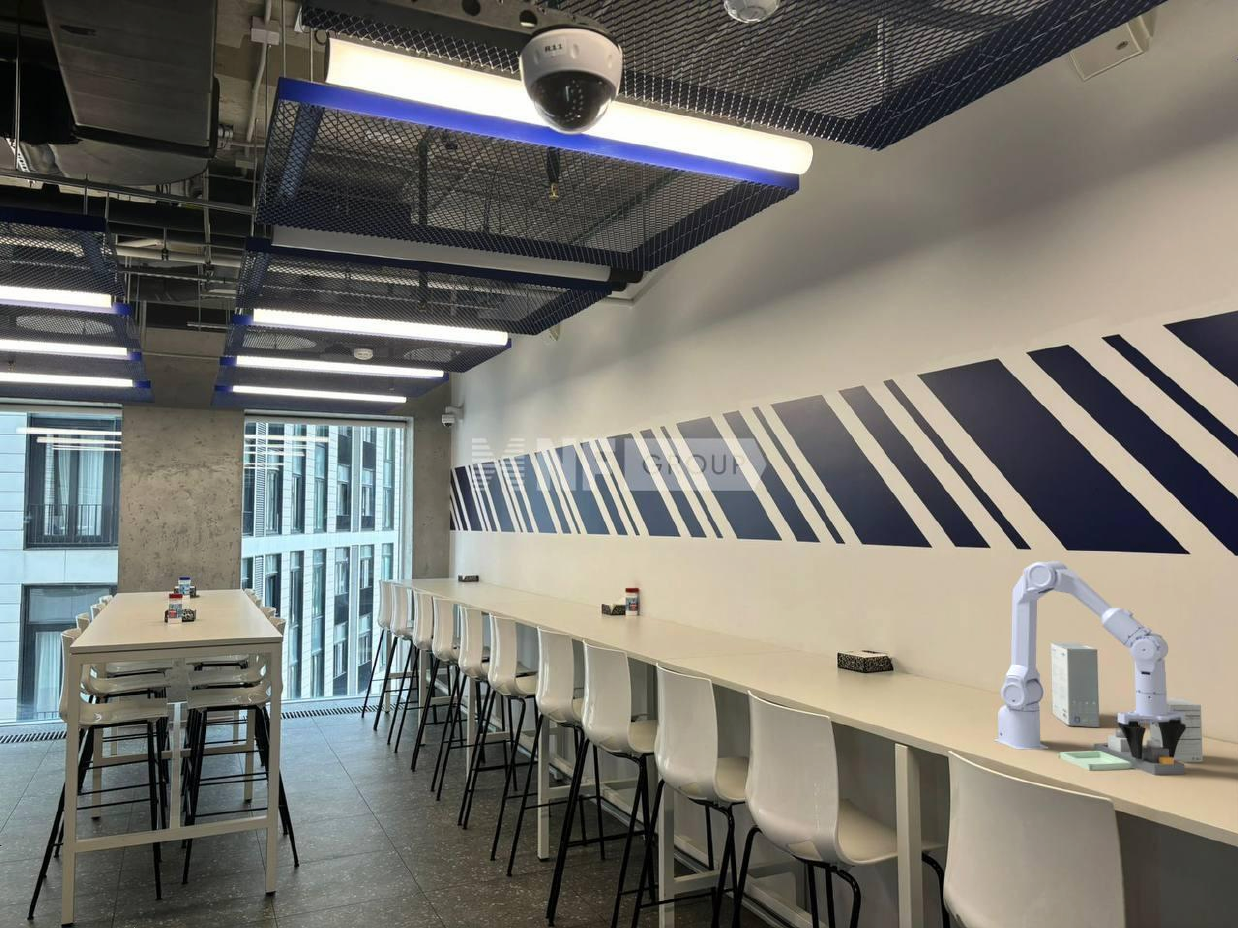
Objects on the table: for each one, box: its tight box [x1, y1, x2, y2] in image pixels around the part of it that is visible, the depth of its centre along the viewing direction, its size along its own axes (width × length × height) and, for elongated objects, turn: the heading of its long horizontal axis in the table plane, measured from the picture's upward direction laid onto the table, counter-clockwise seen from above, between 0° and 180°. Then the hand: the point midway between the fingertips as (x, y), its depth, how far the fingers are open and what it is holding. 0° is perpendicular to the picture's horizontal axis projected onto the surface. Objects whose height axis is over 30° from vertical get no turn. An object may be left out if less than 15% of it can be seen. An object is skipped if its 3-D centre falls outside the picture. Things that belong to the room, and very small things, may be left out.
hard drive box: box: [1050, 641, 1100, 728], centre depth 235 cm, size 16×8×20 cm, turn 168°
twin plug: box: [1107, 728, 1131, 752], centre depth 196 cm, size 4×4×6 cm
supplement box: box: [1149, 697, 1204, 763], centre depth 198 cm, size 7×7×13 cm
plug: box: [1141, 738, 1169, 763], centre depth 187 cm, size 4×4×6 cm
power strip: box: [1093, 742, 1186, 776], centre depth 191 cm, size 18×7×4 cm, turn 9°
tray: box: [1058, 750, 1134, 771], centre depth 191 cm, size 10×10×2 cm
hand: (1152, 757), depth 187 cm, fingers open, 7 cm apart
